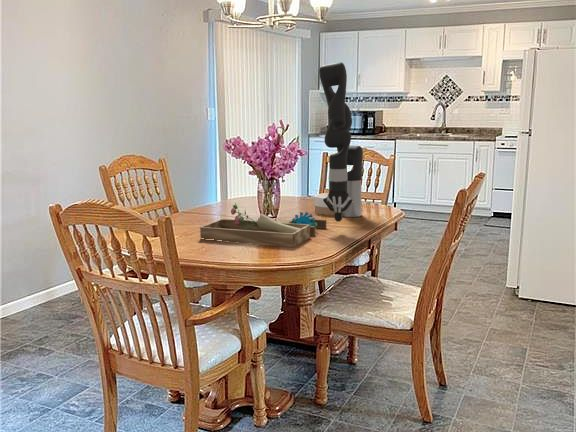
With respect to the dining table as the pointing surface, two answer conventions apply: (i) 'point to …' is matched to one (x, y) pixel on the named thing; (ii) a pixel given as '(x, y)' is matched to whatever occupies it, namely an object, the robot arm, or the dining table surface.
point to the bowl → (322, 205)
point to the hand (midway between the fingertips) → (338, 221)
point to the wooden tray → (254, 233)
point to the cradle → (320, 224)
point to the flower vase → (263, 222)
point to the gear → (305, 219)
